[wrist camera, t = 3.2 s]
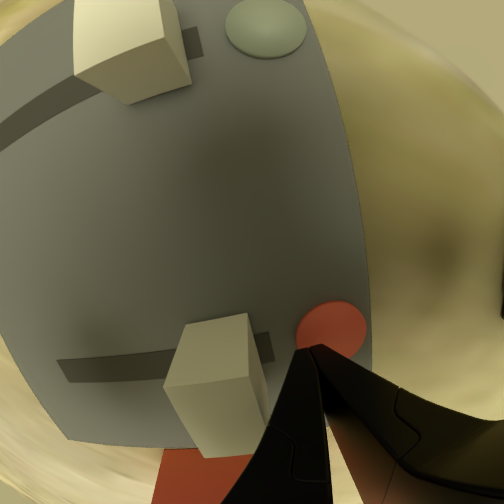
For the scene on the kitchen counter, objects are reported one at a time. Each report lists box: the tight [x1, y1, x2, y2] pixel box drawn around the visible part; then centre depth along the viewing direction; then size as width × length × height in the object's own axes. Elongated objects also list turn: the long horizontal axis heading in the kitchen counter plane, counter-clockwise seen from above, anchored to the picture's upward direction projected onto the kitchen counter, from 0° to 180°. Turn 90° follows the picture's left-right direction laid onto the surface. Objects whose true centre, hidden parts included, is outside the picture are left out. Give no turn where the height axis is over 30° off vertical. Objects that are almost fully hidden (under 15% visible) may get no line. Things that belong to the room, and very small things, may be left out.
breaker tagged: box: [163, 313, 270, 458], centre depth 8 cm, size 2×3×3 cm, turn 13°
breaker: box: [73, 0, 192, 105], centre depth 5 cm, size 2×3×3 cm, turn 13°
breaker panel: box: [0, 0, 372, 448], centre depth 9 cm, size 16×20×3 cm
